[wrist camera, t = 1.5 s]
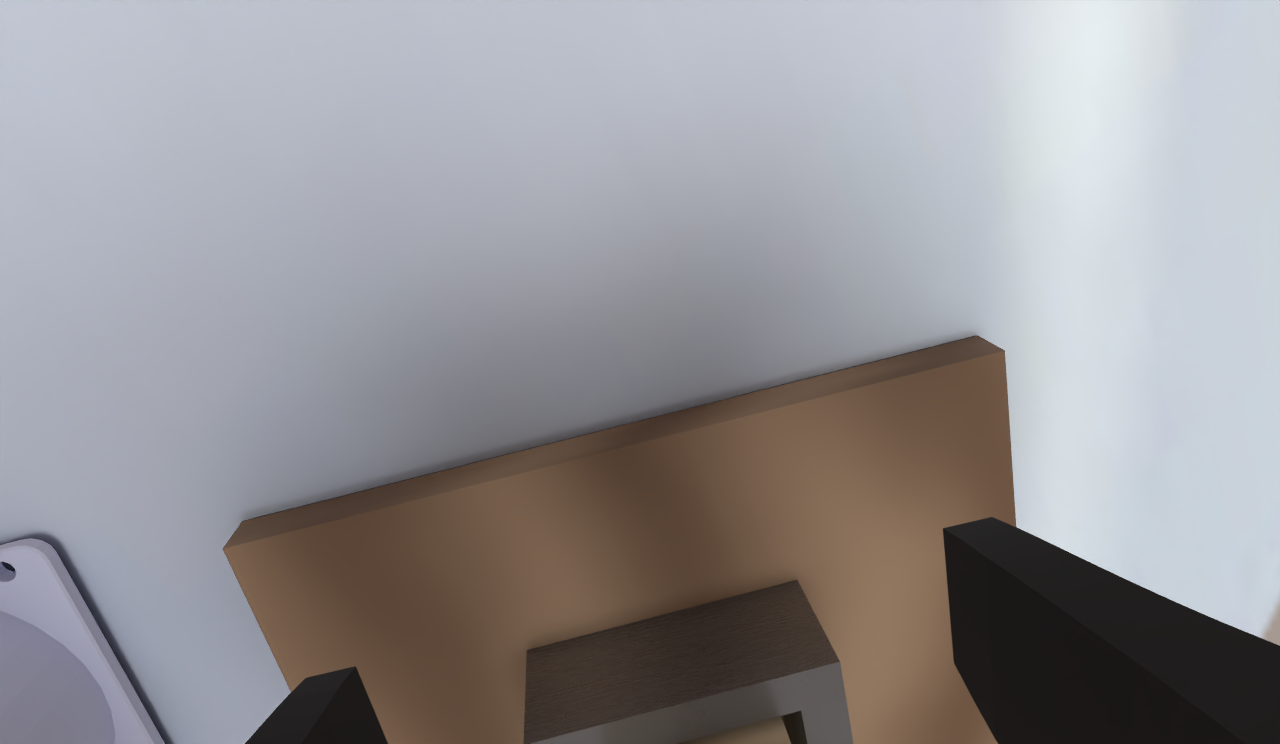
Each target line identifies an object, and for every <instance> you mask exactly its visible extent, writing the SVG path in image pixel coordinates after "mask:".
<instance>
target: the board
mask: <svg viewBox="0 0 1280 744" xmlns="http://www.w3.org/2000/svg"><path fill="white" fill-rule="evenodd" d="M989 517H993V518H996V519H998V520H1001V521H1003V522H1005V523H1008V524H1010V525H1012V526H1014V527H1016V519H1015V503H1014V488H1013V472H1012V456H1011V441H1010V425H1009V410H1008V394H1007V378H1006V363H1005V351H1004V350H1003V349H1001V348H999V347H997V346H995V345H994V344H992V343H990V342H988V341H986V340H985V339H983V338H981V337H979V336H974V337H970V338H966V339H962V340H958V341H954V342H950V343H947V344H943V345H939V346H935V347H931V348H927V349H923V350H919V351H915V352H911V353H907V354H903V355H899V356H895V357H891V358H887V359H883V360H879V361H875V362H871V363H867V364H863V365H859V366H855V367H852V368H848V369H844V370H840V371H836V372H832V373H828V374H824V375H820V376H816V377H812V378H808V379H804V380H800V381H796V382H792V383H788V384H784V385H780V386H776V387H772V388H768V389H764V390H760V391H757V392H753V393H749V394H745V395H741V396H737V397H733V398H729V399H725V400H721V401H717V402H713V403H709V404H705V405H701V406H697V407H693V408H689V409H685V410H681V411H677V412H673V413H669V414H666V415H662V416H658V417H654V418H650V419H646V420H642V421H638V422H634V423H630V424H626V425H622V426H618V427H614V428H610V429H606V430H602V431H598V432H594V433H590V434H586V435H582V436H578V437H574V438H571V439H567V440H563V441H559V442H555V443H551V444H547V445H543V446H539V447H535V448H531V449H527V450H523V451H519V452H515V453H511V454H507V455H503V456H499V457H495V458H491V459H487V460H483V461H479V462H476V463H472V464H468V465H464V466H460V467H456V468H452V469H448V470H444V471H440V472H436V473H432V474H428V475H424V476H420V477H416V478H412V479H408V480H404V481H400V482H396V483H392V484H388V485H384V486H381V487H377V488H373V489H369V490H365V491H361V492H357V493H353V494H349V495H345V496H341V497H337V498H333V499H329V500H325V501H321V502H317V503H313V504H309V505H305V506H301V507H297V508H293V509H289V510H286V511H282V512H278V513H274V514H270V515H266V516H262V517H258V518H254V519H250V520H246V521H242V523H241V524H240V525H239V527H238V528H237V530H236V531H235V532H234V534H233V535H232V537H231V538H230V539H229V541H228V542H227V544H226V545H225V546H224V548H223V551H224V553H225V555H226V557H227V559H228V561H229V563H230V565H231V567H232V569H233V572H234V574H235V576H236V578H237V580H238V582H239V584H240V586H241V588H242V590H243V592H244V595H245V597H246V599H247V601H248V603H249V605H250V607H251V609H252V611H253V613H254V615H255V618H256V620H257V622H258V624H259V626H260V628H261V630H262V632H263V634H264V636H265V638H266V641H267V643H268V645H269V647H270V649H271V651H272V653H273V655H274V657H275V659H276V661H277V664H278V666H279V668H280V670H281V672H282V674H283V676H284V678H285V680H286V682H287V685H288V687H289V689H290V691H291V692H292V691H293V690H294V689H295V688H296V687H297V686H298V685H299V684H300V683H301V682H302V681H303V680H304V679H305V678H307V677H311V676H316V675H320V674H324V673H328V672H333V671H337V670H341V669H345V668H350V667H354V666H356V668H357V670H358V673H359V675H360V677H361V680H362V682H363V685H364V687H365V689H366V692H367V694H368V697H369V699H370V701H371V704H372V706H373V709H374V711H375V713H376V716H377V718H378V721H379V723H380V725H381V728H382V730H383V733H384V735H385V737H386V740H387V742H388V744H523V743H524V714H525V685H526V655H527V650H529V649H532V648H536V647H540V646H544V645H548V644H552V643H555V642H559V641H563V640H567V639H571V638H575V637H578V636H582V635H586V634H590V633H594V632H598V631H601V630H605V629H609V628H613V627H617V626H621V625H624V624H628V623H632V622H636V621H640V620H644V619H647V618H651V617H655V616H659V615H663V614H667V613H670V612H674V611H678V610H682V609H686V608H690V607H693V606H697V605H701V604H705V603H709V602H713V601H717V600H720V599H724V598H728V597H732V596H736V595H740V594H743V593H747V592H751V591H755V590H759V589H763V588H766V587H770V586H774V585H778V584H782V583H786V582H789V581H793V580H798V582H799V584H800V586H801V588H802V590H803V591H804V593H805V595H806V597H807V599H808V601H809V603H810V605H811V607H812V609H813V611H814V613H815V614H816V616H817V618H818V620H819V622H820V624H821V626H822V628H823V630H824V632H825V634H826V636H827V638H828V639H829V641H830V643H831V645H832V647H833V649H834V651H835V653H836V655H837V657H838V659H839V661H840V664H841V670H842V676H843V682H844V688H845V694H846V700H847V706H848V712H849V718H850V724H851V730H852V736H853V743H854V744H998V743H997V741H996V740H995V738H994V736H993V734H992V733H991V731H990V729H989V727H988V725H987V724H986V722H985V720H984V718H983V717H982V715H981V713H980V711H979V709H978V708H977V706H976V704H975V702H974V700H973V698H972V696H971V694H970V693H969V691H968V689H967V687H966V685H965V683H964V681H963V679H962V677H961V676H960V674H959V672H958V670H957V668H956V666H955V664H954V659H953V647H952V635H951V623H950V611H949V598H948V586H947V574H946V562H945V550H944V538H943V528H946V527H951V526H955V525H959V524H963V523H968V522H972V521H976V520H980V519H985V518H989ZM781 718H782V721H783V723H784V726H785V721H784V716H783V715H782V716H781ZM785 729H786V726H785Z"/></svg>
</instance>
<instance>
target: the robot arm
mask: <svg viewBox="0 0 1280 744" xmlns="http://www.w3.org/2000/svg"><path fill="white" fill-rule="evenodd" d="M943 538H944V550H945V562H946V574H947V586H948V598H949V611H950V623H951V635H952V647H953V659H954V664H955V666H956V668H957V670H958V672H959V674H960V676H961V677H962V679H963V681H964V683H965V685H966V687H967V689H968V691H969V693H970V694H971V696H972V698H973V700H974V702H975V704H976V706H977V708H978V709H979V711H980V713H981V715H982V717H983V718H984V720H985V722H986V724H987V725H988V727H989V729H990V731H991V733H992V734H993V736H994V738H995V740H996V741H997V743H998V744H1280V646H1278V645H1276V644H1274V643H1271V642H1269V641H1266V640H1264V639H1262V638H1259V637H1257V636H1254V635H1252V634H1249V633H1247V632H1244V631H1242V630H1239V629H1237V628H1235V627H1232V626H1230V625H1227V624H1225V623H1222V622H1220V621H1218V620H1215V619H1213V618H1211V617H1208V616H1206V615H1204V614H1201V613H1199V612H1197V611H1195V610H1192V609H1190V608H1188V607H1185V606H1183V605H1181V604H1179V603H1176V602H1174V601H1172V600H1170V599H1167V598H1165V597H1163V596H1161V595H1158V594H1156V593H1154V592H1152V591H1150V590H1148V589H1145V588H1143V587H1141V586H1139V585H1137V584H1135V583H1132V582H1130V581H1128V580H1126V579H1124V578H1122V577H1119V576H1117V575H1115V574H1113V573H1111V572H1109V571H1107V570H1105V569H1103V568H1100V567H1098V566H1096V565H1094V564H1092V563H1090V562H1088V561H1086V560H1084V559H1082V558H1080V557H1077V556H1075V555H1073V554H1071V553H1069V552H1067V551H1065V550H1063V549H1061V548H1059V547H1057V546H1055V545H1052V544H1050V543H1048V542H1046V541H1044V540H1042V539H1040V538H1038V537H1036V536H1034V535H1032V534H1029V533H1027V532H1025V531H1023V530H1021V529H1019V528H1016V527H1014V526H1012V525H1010V524H1008V523H1005V522H1003V521H1001V520H998V519H996V518H993V517H989V518H985V519H980V520H976V521H972V522H968V523H963V524H959V525H955V526H951V527H946V528H943ZM2 562H6V563H9V564H11V565H12V566H13V567H14V568H15V571H16V572H12V571H10V570H7V569H6V568H5V567H4V566H3V565H2ZM0 744H165V743H164V741H163V740H162V738H161V736H160V734H159V732H158V731H157V729H156V727H155V725H154V724H153V722H152V720H151V718H150V717H149V715H148V713H147V711H146V709H145V708H144V706H143V704H142V702H141V701H140V699H139V697H138V695H137V694H136V692H135V690H134V688H133V687H132V685H131V683H130V681H129V679H128V678H127V676H126V674H125V672H124V671H123V669H122V667H121V665H120V664H119V662H118V660H117V658H116V656H115V655H114V653H113V651H112V649H111V648H110V646H109V644H108V642H107V641H106V639H105V637H104V635H103V633H102V632H101V630H100V628H99V626H98V625H97V623H96V621H95V619H94V618H93V616H92V614H91V612H90V610H89V609H88V607H87V605H86V603H85V602H84V600H83V598H82V596H81V595H80V593H79V591H78V589H77V587H76V586H75V584H74V582H73V580H72V579H71V577H70V575H69V573H68V572H67V570H66V568H65V566H64V564H63V563H62V561H61V559H60V557H59V556H58V554H57V552H56V551H55V550H54V549H53V547H52V546H51V545H49V544H48V543H46V542H44V541H42V540H38V539H34V538H32V539H22V540H18V541H14V542H10V543H6V544H2V545H0ZM245 744H388V742H387V740H386V737H385V735H384V733H383V730H382V728H381V725H380V723H379V721H378V718H377V716H376V713H375V711H374V709H373V706H372V704H371V701H370V699H369V697H368V694H367V692H366V689H365V687H364V685H363V682H362V680H361V677H360V675H359V673H358V670H357V668H356V666H354V667H350V668H345V669H341V670H337V671H333V672H328V673H324V674H320V675H316V676H311V677H307V678H305V679H304V680H303V681H302V682H301V683H300V684H299V685H298V686H297V687H296V688H295V689H294V690H293V691H292V692H291V693H290V694H289V695H288V696H287V697H286V699H285V700H284V701H283V702H282V703H281V704H280V705H279V706H278V707H277V708H276V709H275V711H274V712H273V713H272V714H271V715H270V716H269V717H268V718H267V719H266V721H265V722H264V723H263V724H262V725H261V726H260V727H259V728H258V730H257V731H256V732H255V733H254V734H253V735H252V736H251V738H250V739H249V740H248V741H247V742H246V743H245Z"/></svg>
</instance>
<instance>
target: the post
mask: <svg viewBox="0 0 1280 744" xmlns="http://www.w3.org/2000/svg"><path fill="white" fill-rule="evenodd" d="M677 744H791V742H790V739H789V736H788V734H787V731H786V729H785V726H784V723H783V721H782V718H781V716H779V717H775V718H771V719H767V720H764V721H760V722H756V723H752V724H749V725H745V726H741V727H737V728H733V729H730V730H726V731H722V732H718V733H715V734H711V735H707V736H703V737H700V738H696V739H692V740H688V741H685V742H681V743H677Z"/></svg>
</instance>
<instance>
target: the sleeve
mask: <svg viewBox="0 0 1280 744" xmlns="http://www.w3.org/2000/svg"><path fill="white" fill-rule="evenodd" d="M782 715H783V716H784V721H785V726H786V731H787V734H788V736H789V739H790V742H791V744H854V743H853V736H852V730H851V724H850V718H849V712H848V706H847V700H846V694H845V688H844V682H843V676H842V670H841V664H840V661H839V659H838V657H837V655H836V653H835V651H834V649H833V647H832V645H831V643H830V641H829V639H828V638H827V636H826V634H825V632H824V630H823V628H822V626H821V624H820V622H819V620H818V618H817V616H816V614H815V613H814V611H813V609H812V607H811V605H810V603H809V601H808V599H807V597H806V595H805V593H804V591H803V590H802V588H801V586H800V584H799V582H798V580H793V581H789V582H786V583H782V584H778V585H774V586H770V587H766V588H763V589H759V590H755V591H751V592H747V593H743V594H740V595H736V596H732V597H728V598H724V599H720V600H717V601H713V602H709V603H705V604H701V605H697V606H693V607H690V608H686V609H682V610H678V611H674V612H670V613H667V614H663V615H659V616H655V617H651V618H647V619H644V620H640V621H636V622H632V623H628V624H624V625H621V626H617V627H613V628H609V629H605V630H601V631H598V632H594V633H590V634H586V635H582V636H578V637H575V638H571V639H567V640H563V641H559V642H555V643H552V644H548V645H544V646H540V647H536V648H532V649H529V650H527V655H526V685H525V714H524V743H523V744H677V743H681V742H685V741H688V740H692V739H696V738H700V737H703V736H707V735H711V734H715V733H718V732H722V731H726V730H730V729H733V728H737V727H741V726H745V725H749V724H752V723H756V722H760V721H764V720H767V719H771V718H775V717H779V716H782Z"/></svg>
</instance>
